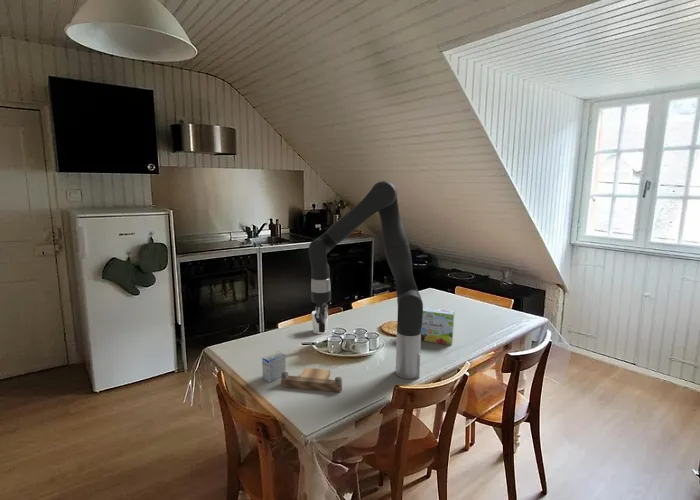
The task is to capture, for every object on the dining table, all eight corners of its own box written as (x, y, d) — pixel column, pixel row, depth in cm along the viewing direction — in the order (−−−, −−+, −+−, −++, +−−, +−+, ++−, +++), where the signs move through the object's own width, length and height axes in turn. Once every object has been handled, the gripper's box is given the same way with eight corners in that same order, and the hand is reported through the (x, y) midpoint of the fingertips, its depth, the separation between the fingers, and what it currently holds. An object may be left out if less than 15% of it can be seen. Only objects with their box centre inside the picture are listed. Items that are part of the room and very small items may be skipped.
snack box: (406, 339, 191) (407, 308, 188) (408, 334, 196) (409, 304, 193) (451, 345, 184) (453, 314, 181) (453, 341, 189) (455, 310, 186)
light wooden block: (330, 377, 156) (330, 369, 155) (325, 387, 148) (325, 380, 147) (305, 374, 157) (305, 367, 157) (299, 385, 149) (299, 377, 149)
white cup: (331, 331, 199) (331, 312, 197) (319, 336, 194) (319, 316, 192) (320, 327, 205) (320, 308, 203) (308, 331, 199) (308, 312, 197)
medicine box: (278, 371, 159) (277, 350, 157) (286, 375, 156) (285, 354, 155) (262, 379, 153) (261, 357, 151) (270, 382, 150) (269, 361, 149)
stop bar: (342, 388, 147) (342, 376, 146) (340, 392, 144) (340, 380, 143) (283, 382, 150) (283, 371, 150) (280, 386, 148) (280, 375, 147)
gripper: (326, 294, 150) (327, 338, 153) (334, 285, 162) (334, 326, 166) (306, 293, 151) (308, 337, 154) (315, 284, 164) (317, 325, 167)
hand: (322, 331), depth 160 cm, fingers closed
